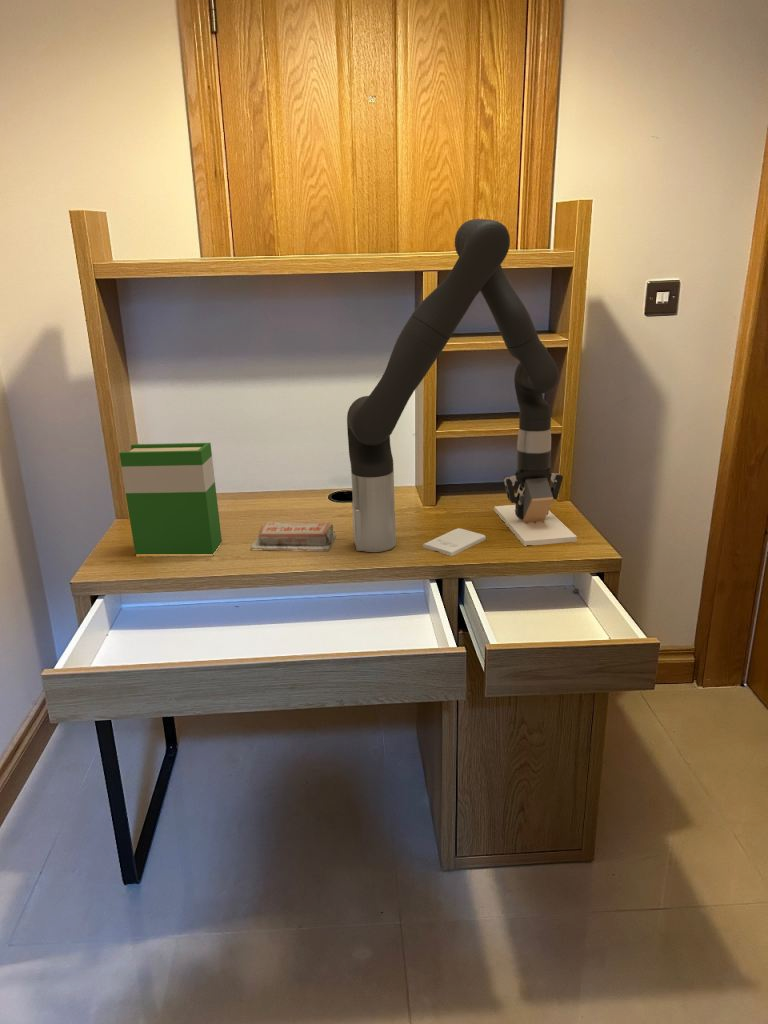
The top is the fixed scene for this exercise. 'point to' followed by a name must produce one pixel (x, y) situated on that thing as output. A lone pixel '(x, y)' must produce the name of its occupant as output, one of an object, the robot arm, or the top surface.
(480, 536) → the external hard drive
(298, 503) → the top surface
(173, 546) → the hardback book
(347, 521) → the top surface
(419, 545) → the top surface
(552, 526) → the board
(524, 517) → the block
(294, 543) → the packaged product
